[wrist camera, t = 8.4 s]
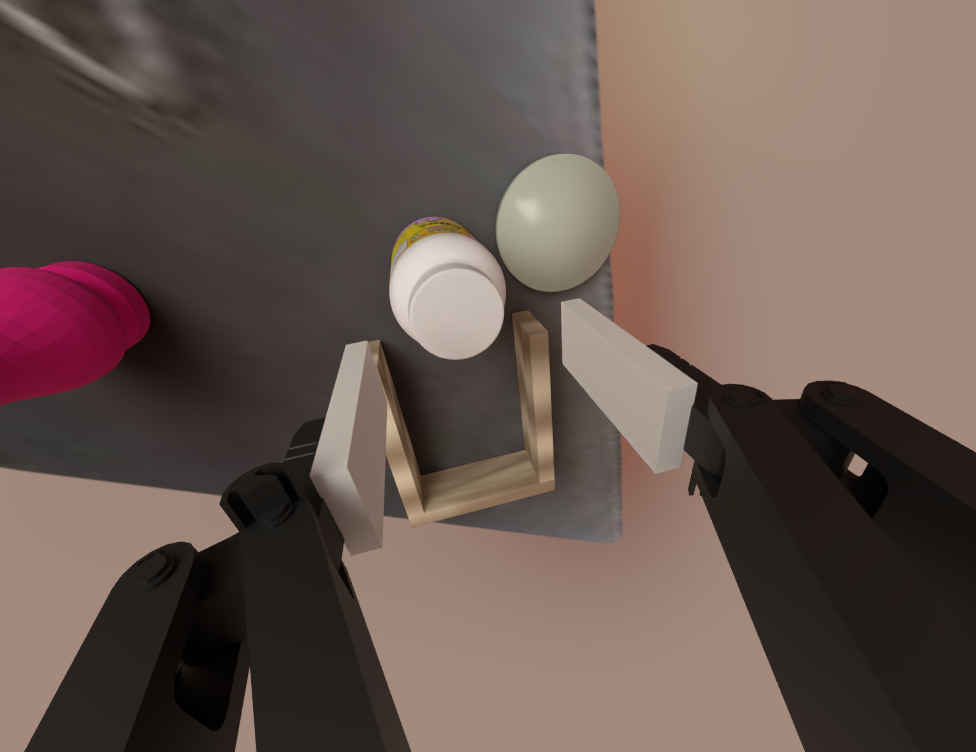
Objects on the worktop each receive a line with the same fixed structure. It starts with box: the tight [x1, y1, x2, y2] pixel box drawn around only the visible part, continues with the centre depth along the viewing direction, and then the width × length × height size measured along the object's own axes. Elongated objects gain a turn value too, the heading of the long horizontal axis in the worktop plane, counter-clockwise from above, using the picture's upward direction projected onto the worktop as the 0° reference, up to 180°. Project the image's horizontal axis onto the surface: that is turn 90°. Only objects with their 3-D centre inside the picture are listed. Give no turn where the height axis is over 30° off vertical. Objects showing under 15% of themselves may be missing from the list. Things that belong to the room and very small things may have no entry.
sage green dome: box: [495, 154, 620, 292], centre depth 29 cm, size 10×10×1 cm
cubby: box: [368, 310, 555, 527], centre depth 34 cm, size 18×14×5 cm
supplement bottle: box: [389, 217, 506, 360], centre depth 23 cm, size 7×7×13 cm
